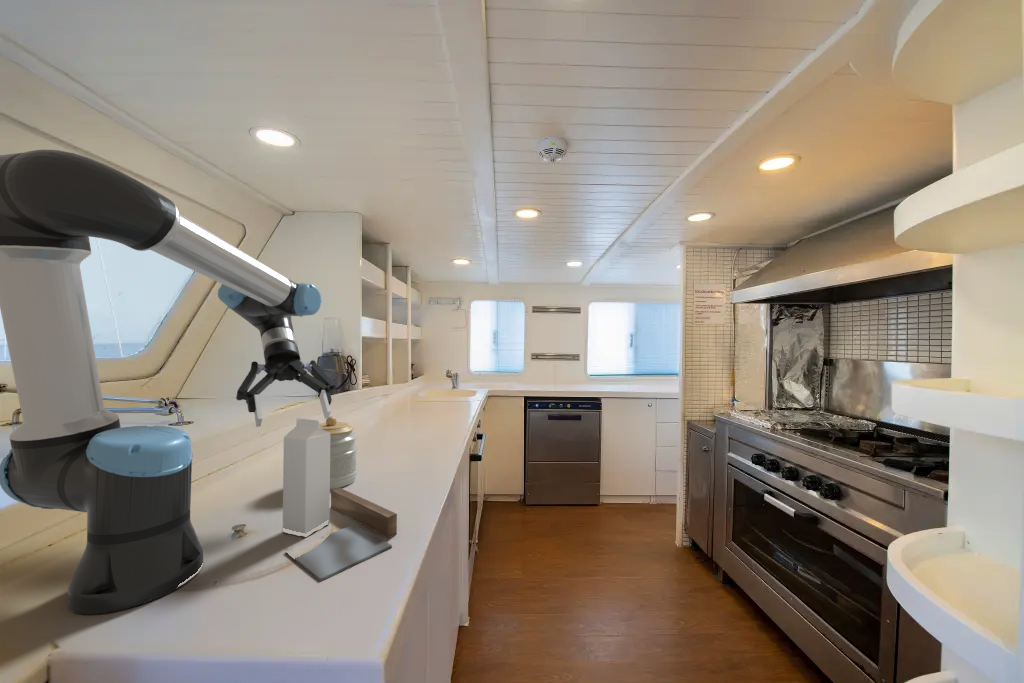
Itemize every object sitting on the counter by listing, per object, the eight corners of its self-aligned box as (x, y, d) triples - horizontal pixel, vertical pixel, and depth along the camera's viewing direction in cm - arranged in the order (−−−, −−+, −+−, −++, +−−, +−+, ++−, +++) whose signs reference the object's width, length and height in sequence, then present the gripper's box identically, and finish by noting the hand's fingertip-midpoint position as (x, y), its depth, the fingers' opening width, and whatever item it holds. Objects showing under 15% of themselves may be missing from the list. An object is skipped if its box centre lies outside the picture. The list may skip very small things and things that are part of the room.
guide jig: (320, 581, 61) (320, 555, 61) (258, 531, 77) (258, 511, 77) (407, 539, 74) (407, 518, 74) (339, 504, 90) (339, 487, 90)
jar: (355, 471, 113) (355, 411, 113) (358, 486, 101) (358, 418, 101) (304, 478, 107) (305, 414, 107) (301, 494, 96) (302, 422, 96)
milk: (305, 538, 74) (306, 423, 74) (281, 533, 76) (282, 421, 76) (330, 524, 80) (331, 417, 80) (307, 519, 82) (308, 415, 82)
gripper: (329, 359, 108) (348, 421, 96) (217, 361, 91) (224, 437, 80) (336, 340, 104) (356, 402, 93) (220, 338, 87) (227, 415, 76)
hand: (295, 418), depth 86 cm, fingers open, 13 cm apart
